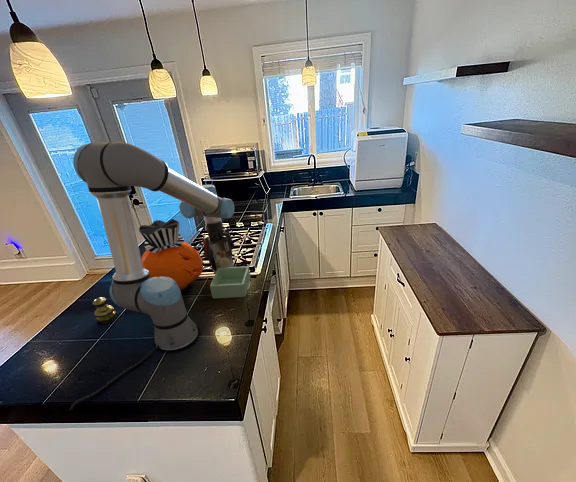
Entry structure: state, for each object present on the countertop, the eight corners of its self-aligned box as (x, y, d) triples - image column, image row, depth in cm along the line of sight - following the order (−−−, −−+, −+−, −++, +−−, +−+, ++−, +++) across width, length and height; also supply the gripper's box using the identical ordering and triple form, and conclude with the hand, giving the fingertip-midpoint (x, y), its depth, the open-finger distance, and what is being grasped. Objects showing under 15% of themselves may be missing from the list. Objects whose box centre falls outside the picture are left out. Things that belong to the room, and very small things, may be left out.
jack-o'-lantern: (211, 290, 143) (195, 226, 126) (151, 305, 136) (125, 241, 119) (202, 266, 164) (187, 209, 148) (149, 278, 157) (127, 220, 141)
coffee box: (228, 265, 160) (222, 235, 151) (235, 269, 156) (229, 238, 147) (212, 271, 156) (205, 241, 147) (218, 275, 151) (211, 244, 143)
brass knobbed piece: (121, 314, 132) (112, 294, 127) (108, 325, 126) (98, 304, 121) (107, 312, 134) (97, 293, 129) (94, 323, 128) (83, 303, 123)
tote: (245, 296, 136) (243, 284, 133) (212, 298, 137) (209, 286, 134) (250, 278, 150) (248, 266, 146) (220, 279, 151) (218, 268, 147)
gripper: (198, 230, 133) (209, 276, 145) (237, 215, 147) (244, 259, 159) (188, 227, 137) (199, 272, 150) (226, 213, 151) (234, 255, 163)
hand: (222, 265), depth 154 cm, fingers closed on coffee box, 9 cm apart
